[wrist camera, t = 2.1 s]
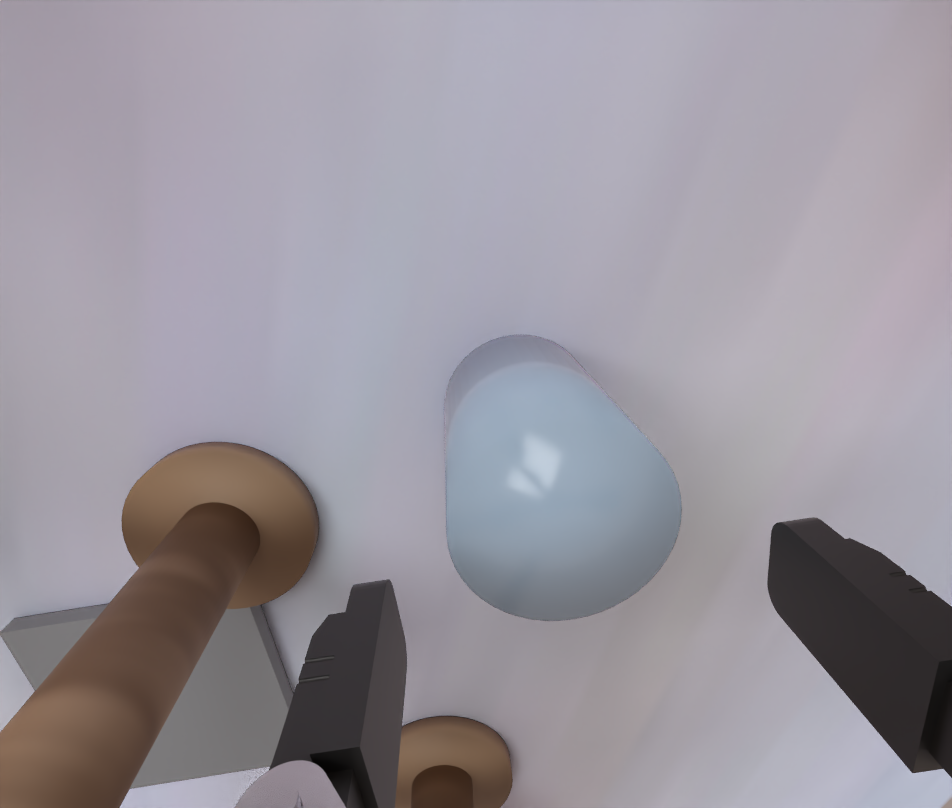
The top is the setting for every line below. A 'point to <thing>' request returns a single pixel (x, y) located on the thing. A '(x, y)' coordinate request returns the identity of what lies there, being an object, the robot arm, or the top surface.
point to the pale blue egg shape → (550, 485)
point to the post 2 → (452, 765)
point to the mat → (188, 693)
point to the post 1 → (158, 620)
